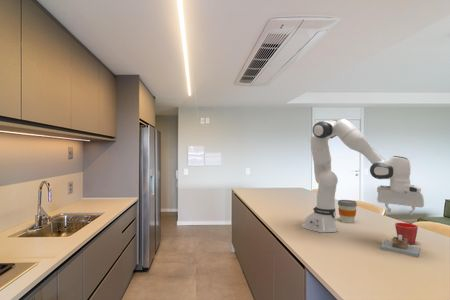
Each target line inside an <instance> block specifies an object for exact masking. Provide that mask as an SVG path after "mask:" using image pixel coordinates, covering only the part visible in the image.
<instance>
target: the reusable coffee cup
mask: <svg viewBox="0 0 450 300" xmlns="http://www.w3.org/2000/svg"><path fill="white" fill-rule="evenodd" d="M357 204H358V203H357V201H355V200H350V199H339V200H338V202H337V205H338V214H339V219H340V222H342V223H344V224H354V223H355V217H356V215H357V214H356V213H357Z"/></svg>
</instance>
